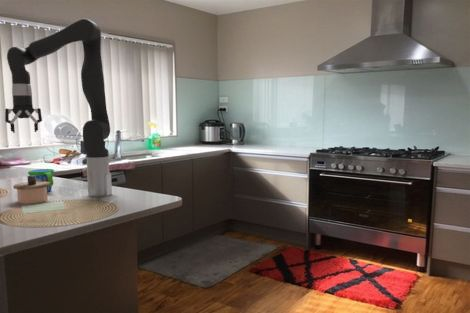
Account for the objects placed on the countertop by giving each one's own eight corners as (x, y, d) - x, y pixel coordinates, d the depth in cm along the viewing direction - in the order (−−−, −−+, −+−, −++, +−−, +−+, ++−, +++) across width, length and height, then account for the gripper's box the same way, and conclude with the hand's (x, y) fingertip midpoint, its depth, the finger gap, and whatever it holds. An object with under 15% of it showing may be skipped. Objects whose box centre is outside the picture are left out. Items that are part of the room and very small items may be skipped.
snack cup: (24, 191, 194) (22, 169, 193) (46, 188, 202) (45, 167, 201) (37, 195, 184) (36, 173, 183) (61, 192, 191) (59, 170, 190)
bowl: (52, 199, 177) (51, 183, 176) (39, 204, 166) (38, 188, 165) (27, 199, 177) (26, 183, 177) (12, 204, 166) (11, 188, 166)
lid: (56, 183, 177) (55, 173, 177) (39, 189, 164) (39, 178, 163) (25, 183, 178) (24, 173, 178) (6, 189, 164) (5, 178, 164)
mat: (67, 210, 156) (67, 208, 156) (23, 215, 149) (23, 213, 149) (62, 202, 169) (62, 201, 169) (21, 207, 162) (21, 205, 162)
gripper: (40, 95, 187) (42, 131, 188) (3, 95, 180) (6, 132, 182) (40, 94, 180) (43, 132, 182) (3, 94, 174) (5, 133, 175)
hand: (24, 132), depth 182 cm, fingers open, 8 cm apart
